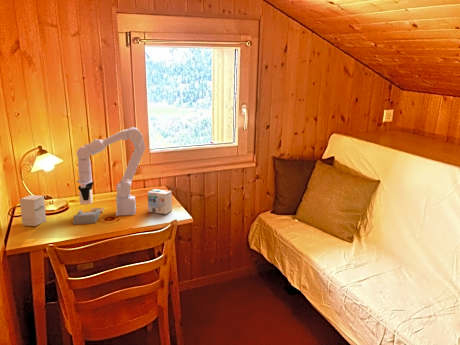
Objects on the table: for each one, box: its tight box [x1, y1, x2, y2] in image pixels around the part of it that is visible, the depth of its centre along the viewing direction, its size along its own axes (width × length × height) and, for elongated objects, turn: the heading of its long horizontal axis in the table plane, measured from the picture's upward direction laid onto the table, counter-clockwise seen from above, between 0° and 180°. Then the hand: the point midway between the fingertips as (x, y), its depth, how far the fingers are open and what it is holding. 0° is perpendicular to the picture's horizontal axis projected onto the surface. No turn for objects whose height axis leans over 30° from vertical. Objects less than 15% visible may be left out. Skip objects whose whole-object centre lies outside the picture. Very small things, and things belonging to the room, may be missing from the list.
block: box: [78, 188, 94, 206], centre depth 179 cm, size 5×5×6 cm
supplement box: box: [19, 194, 47, 227], centre depth 170 cm, size 7×7×13 cm
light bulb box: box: [147, 188, 173, 215], centre depth 189 cm, size 11×7×11 cm, turn 70°
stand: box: [89, 207, 105, 214], centre depth 189 cm, size 6×6×1 cm
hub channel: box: [72, 209, 101, 225], centre depth 177 cm, size 10×14×4 cm
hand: (87, 198), depth 179 cm, fingers closed on block, 5 cm apart
